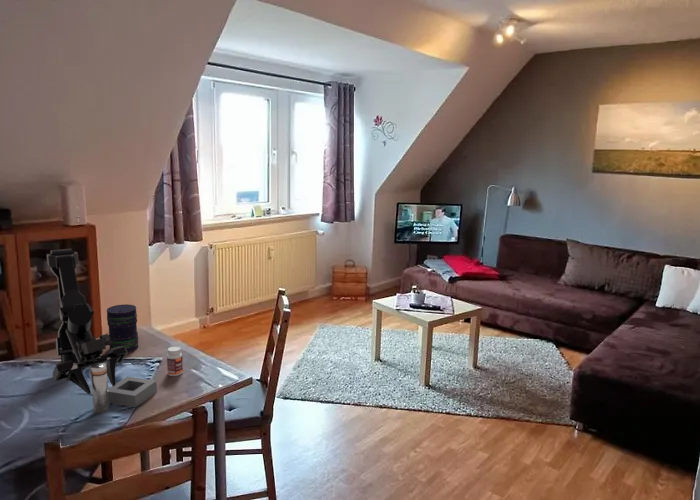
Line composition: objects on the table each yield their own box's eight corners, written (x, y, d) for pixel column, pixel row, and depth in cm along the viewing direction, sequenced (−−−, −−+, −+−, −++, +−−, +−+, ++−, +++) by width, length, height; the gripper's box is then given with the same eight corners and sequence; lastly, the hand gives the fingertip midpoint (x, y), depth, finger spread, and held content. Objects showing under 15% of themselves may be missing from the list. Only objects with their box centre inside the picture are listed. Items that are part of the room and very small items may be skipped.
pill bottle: (178, 377, 169) (177, 352, 168) (164, 375, 170) (163, 350, 169) (185, 370, 174) (184, 346, 172) (172, 369, 175) (171, 345, 173)
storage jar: (112, 344, 195) (109, 305, 192) (140, 342, 197) (138, 303, 194) (106, 354, 185) (103, 313, 182) (136, 352, 188) (134, 312, 185)
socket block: (105, 402, 152) (104, 390, 151) (128, 387, 162) (127, 376, 161) (135, 407, 150) (135, 395, 149) (156, 391, 159) (156, 380, 158)
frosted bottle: (90, 412, 146) (86, 368, 144) (100, 405, 150) (97, 362, 148) (102, 414, 145) (99, 370, 143) (113, 407, 149) (109, 364, 147)
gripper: (52, 335, 139) (73, 388, 134) (122, 319, 153) (143, 366, 148) (44, 355, 145) (63, 406, 141) (111, 337, 159) (131, 383, 154)
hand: (102, 389), depth 146 cm, fingers open, 6 cm apart
